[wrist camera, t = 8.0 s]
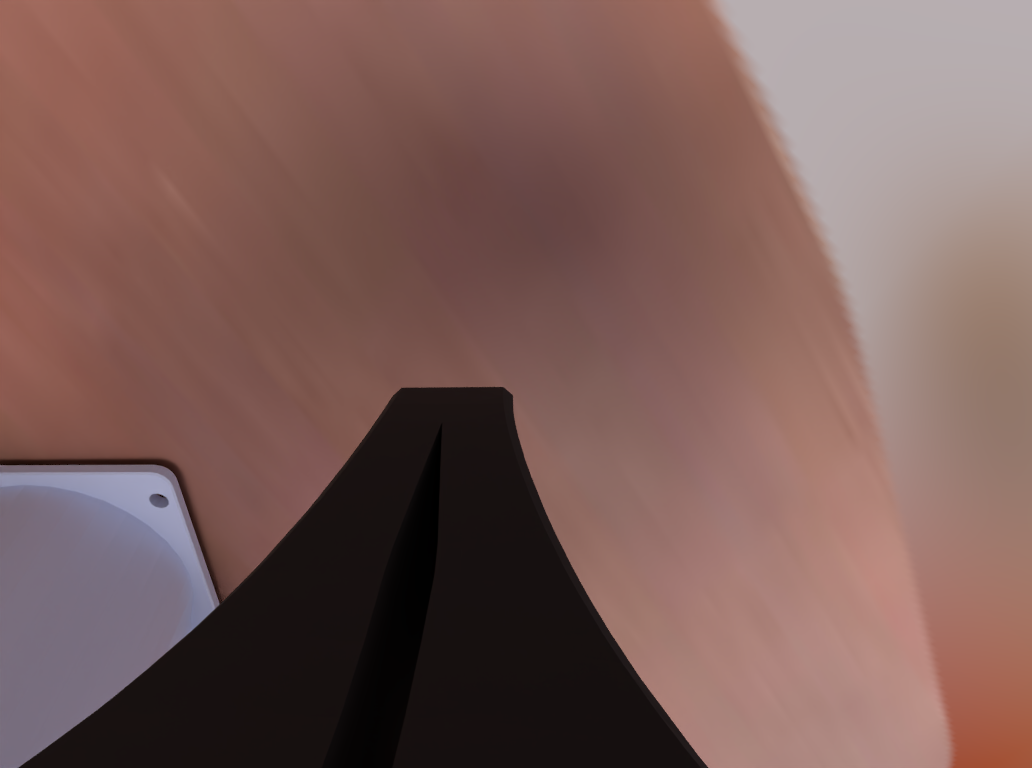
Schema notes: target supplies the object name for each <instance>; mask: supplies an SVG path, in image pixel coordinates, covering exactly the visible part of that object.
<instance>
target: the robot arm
mask: <svg viewBox="0 0 1032 768" xmlns="http://www.w3.org/2000/svg"><path fill="white" fill-rule="evenodd" d="M157 494H161V495H163V496H165V497H166V498H163V497H160V496H159V495H157ZM0 768H708V767H707V766H706V764H705V763H704V762H703V761H702V760H701V758H700V757H699V756H698V755H697V753H696V752H695V751H694V749H693V748H692V747H691V745H690V744H689V743H688V741H687V740H686V739H685V737H684V736H683V735H682V733H681V732H680V731H679V729H678V728H677V727H676V725H675V724H674V723H673V721H672V720H671V719H670V717H669V716H668V715H667V713H666V712H665V711H664V709H663V708H662V707H661V705H660V704H659V703H658V701H657V700H656V699H655V697H654V696H653V695H652V693H651V692H650V690H649V689H648V688H647V686H646V685H645V684H644V682H643V681H642V680H641V678H640V677H639V675H638V674H637V673H636V671H635V670H634V668H633V667H632V665H631V664H630V662H629V661H628V659H627V657H626V656H625V654H624V653H623V651H622V650H621V648H620V647H619V645H618V644H617V642H616V641H615V639H614V638H613V636H612V635H611V633H610V632H609V630H608V628H607V627H606V625H605V623H604V622H603V620H602V618H601V617H600V615H599V613H598V612H597V610H596V609H595V607H594V605H593V604H592V602H591V600H590V598H589V597H588V595H587V593H586V591H585V590H584V588H583V586H582V584H581V582H580V581H579V579H578V577H577V575H576V573H575V571H574V570H573V568H572V566H571V564H570V562H569V560H568V558H567V556H566V554H565V552H564V550H563V548H562V546H561V544H560V542H559V540H558V538H557V536H556V534H555V532H554V530H553V527H552V525H551V523H550V521H549V519H548V516H547V514H546V512H545V510H544V507H543V505H542V502H541V500H540V497H539V495H538V492H537V490H536V487H535V485H534V482H533V480H532V478H531V475H530V472H529V469H528V467H527V464H526V461H525V458H524V454H523V451H522V448H521V444H520V441H519V438H518V434H517V429H516V425H515V420H514V413H513V395H512V394H511V393H509V392H508V391H507V390H506V389H505V388H504V387H450V388H401V389H400V390H399V391H398V392H397V393H396V394H395V395H393V397H392V398H391V400H390V401H389V403H388V404H387V406H386V407H385V409H384V410H383V412H382V413H381V415H380V416H379V418H378V419H377V421H376V422H375V424H374V425H373V426H372V428H371V429H370V431H369V432H368V433H367V435H366V436H365V438H364V439H363V440H362V442H361V443H360V444H359V446H358V447H357V449H356V450H355V451H354V453H353V454H352V455H351V457H350V458H349V459H348V461H347V462H346V463H345V465H344V466H343V467H342V468H341V470H340V471H339V472H338V473H337V475H336V476H335V477H334V478H333V480H332V481H331V482H330V484H329V485H328V486H327V487H326V489H325V490H324V491H323V492H322V494H321V495H320V496H319V497H318V499H317V500H316V501H315V502H314V504H313V505H312V506H311V507H310V508H309V510H308V511H307V512H306V513H305V514H304V515H303V517H302V518H301V519H300V520H299V521H298V522H297V523H296V524H295V525H294V527H293V528H292V529H291V530H290V531H289V532H288V533H287V534H286V536H285V537H284V538H283V539H282V540H281V541H280V542H279V543H278V545H277V546H276V547H275V548H274V549H273V550H272V551H271V552H270V554H269V555H268V556H267V557H266V558H265V559H264V560H263V561H262V562H261V563H260V564H259V565H258V567H257V568H256V569H255V570H254V571H253V572H252V573H251V574H250V575H249V576H248V577H247V578H246V579H245V580H244V581H243V582H242V583H241V584H240V585H239V586H238V587H237V588H236V589H235V590H234V591H233V592H232V593H231V594H230V595H229V596H228V597H227V598H226V599H225V600H224V601H223V602H222V603H221V604H219V601H218V598H217V595H216V592H215V589H214V586H213V583H212V580H211V577H210V574H209V571H208V569H207V566H206V563H205V560H204V557H203V554H202V551H201V548H200V545H199V542H198V539H197V536H196V533H195V530H194V528H193V525H192V522H191V519H190V516H189V513H188V510H187V507H186V504H185V501H184V498H183V495H182V492H181V489H180V487H179V484H178V481H177V478H176V476H175V475H174V473H173V472H171V471H170V470H169V469H168V468H165V467H163V466H159V465H0Z"/></svg>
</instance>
